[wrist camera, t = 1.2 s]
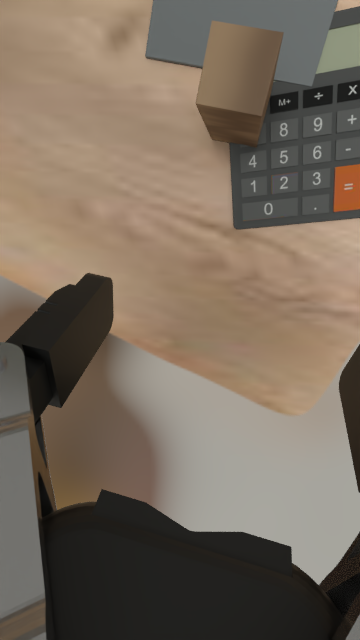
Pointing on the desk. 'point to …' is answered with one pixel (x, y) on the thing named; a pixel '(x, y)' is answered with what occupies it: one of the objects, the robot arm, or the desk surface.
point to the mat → (247, 10)
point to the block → (237, 81)
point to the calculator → (306, 143)
